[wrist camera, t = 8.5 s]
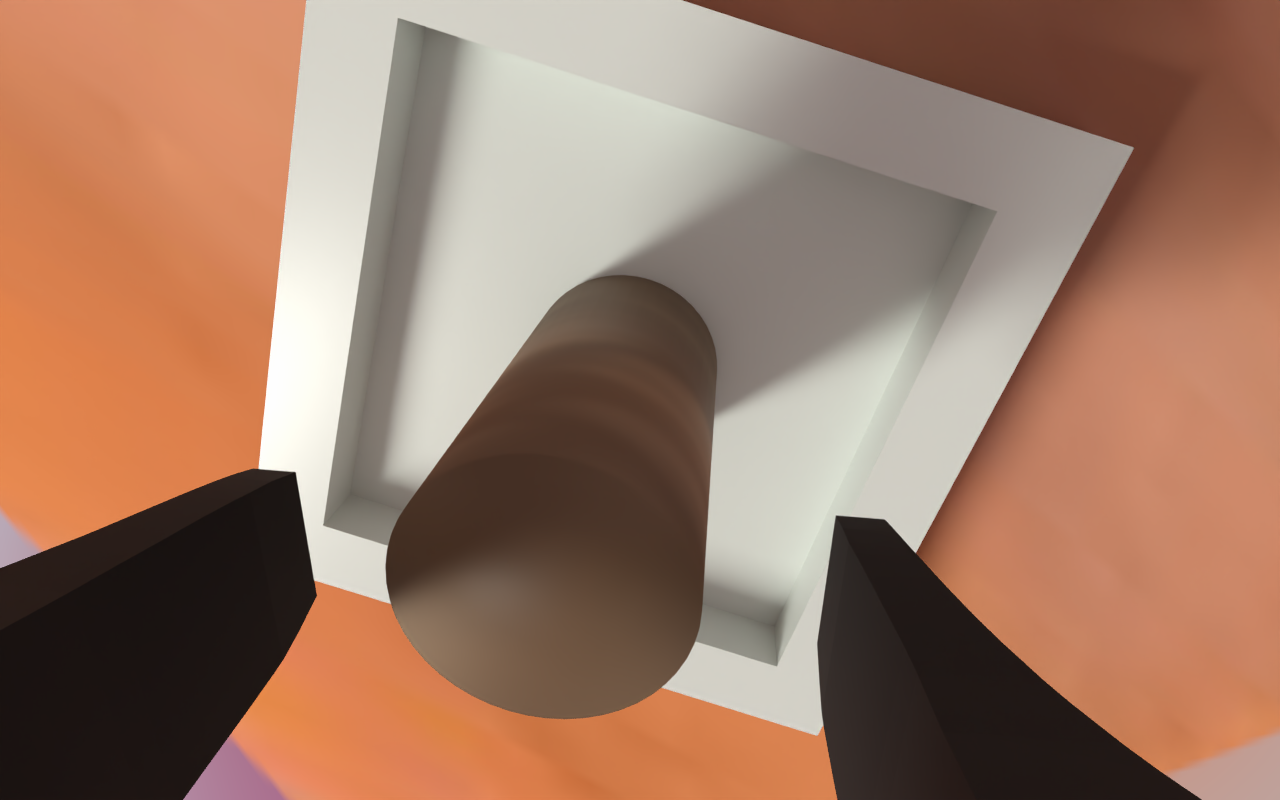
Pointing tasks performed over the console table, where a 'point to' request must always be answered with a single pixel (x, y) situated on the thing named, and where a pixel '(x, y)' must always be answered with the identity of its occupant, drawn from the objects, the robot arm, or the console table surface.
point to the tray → (661, 274)
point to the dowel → (570, 512)
